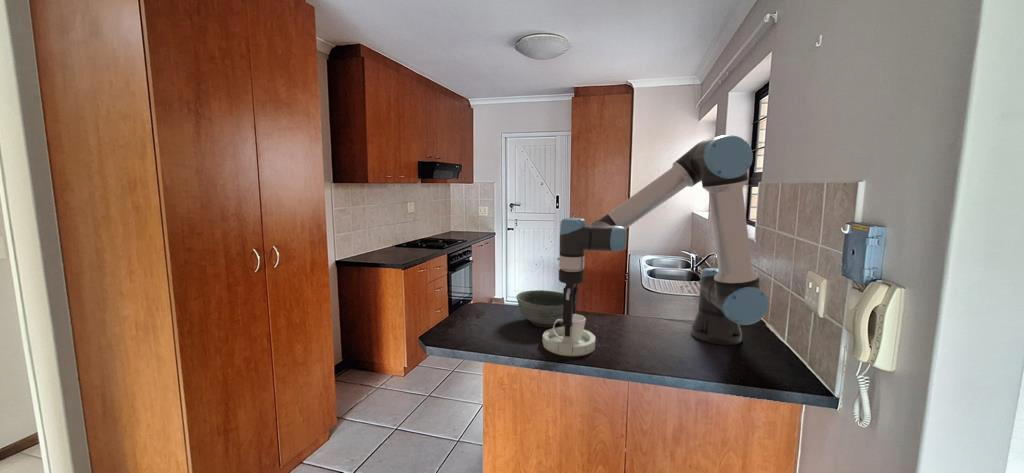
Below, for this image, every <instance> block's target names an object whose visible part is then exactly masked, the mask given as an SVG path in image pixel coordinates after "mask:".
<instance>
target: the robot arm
mask: <svg viewBox="0 0 1024 473" xmlns="http://www.w3.org/2000/svg"><path fill="white" fill-rule="evenodd" d="M753 155H754V153H753V150H752V147H751V146H750V143H748V142H747V141H746V140H745V139H744V138H742V137H740V136H738V135H734V134H733V135H732V134H725V135H724V134H723V135H719V136H715V137H712V138H707V139H704V140H701V141H699V142H698V143H697V144H695V145H694V146H693V147H691V148H690V149H689V150H688V151H686V153H684V154H682V156H680V157H679V158H678V159H677V160H675V161H674V162H673V163H672V166H671V167H670V168H669V169H668V170H666V171H665V172H663V173H662V174H661V175H660V176H658V177H656V179H654V180H653V181H651V182H650V183H649V184H647V185H645V186H644V187H643V188H641V189H640V190H639V191H637V192H636V193H635V194H633V195H632V196H630V197H629V198H628V199H626V200H624V201H623V202H622V203H620V204H619V205H618V206H617V207H615V208H613V209H612V210H611V211H609V212H608V213H606V214H605V215H604V216H602V217H601V218H599V219H597V220H596V219H595V220H594V221H593V222H592V223H591V224H589V225H588V224H587V223H586V219H585V218H581V217H565V218H563V219H562V220H561V221H560V228H559V257H557V261H559V263H558V268H559V269H558V281H559V282H560V283H561V284H565V286H564V287H563V292H562V293H564V294H563V296H564V304H563V322H560V326H562V327H563V344H569V345H572V333H573V325H572V317H573V314H577V312H578V310H577V304H578V303H577V301H578V299H577V298H578V291H579V287H578V285H579V284H582V283H584V277H585V271H584V268H585V258H586V257H585V256H586V255H585V251H602V252H603V251H605V252H622V251H624V250H625V249H626V247H627V240H628V234H627V229H628V228H629V227H630V226H632V225H633V224H635V223H636V222H638V221H639V220H641V219H643V218H644V217H645V216H647V215H648V214H650V213H651V212H652V211H654V210H655V209H657V208H658V207H659V206H661V205H662V204H664V203H665V202H666V201H668V200H670V199H671V198H673V197H674V196H675V195H677V194H678V193H680V192H681V191H682V190H684V189H685V188H688V187H689V188H690V187H691V188H692V187H694V186H695V185H697V184H698V183H700V182H701V186H702V189H704V190H706V191H707V192H708V193H709V194H708V195H709V203H710V210H711V212H710V213H711V220H712V228H713V236H714V243H715V245H714V246H715V251H716V252H715V253H716V260H717V267H713V268H712V267H709V268H703V269H702V271H701V274H700V278H699V280H700V284H699V297H698V298H699V299H698V312H697V313H696V316H695V317H694V320H693V322H692V324H691V327H690V334H691V335H692V337H694V338H696V339H697V340H699V341H703V342H705V343H709V344H714V345H720V346H721V345H722V346H735V345H739V344H740V343H741V342H742V338H743V333H742V329H741V326H742V325H743V326H750V325H753V324H756V323H759V321H761V320H762V319H763V318H764V317H765V316H766V314H767V313H768V310H769V308H770V307H769V306H770V301H769V298H768V296H767V294H766V293H765V292H764V290H762V289H761V282H760V275H759V273H757V272H756V271H754V270H753V268H752V259H751V249H750V242H749V234H748V225H747V215H746V207H745V199H744V191H743V190H744V187H745V185H747V183H748V182H749V178H748V176H749V175H748V170H749V169H750V167H751V166H752V164H753V158H754V156H753Z"/></svg>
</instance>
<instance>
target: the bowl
mask: <svg viewBox="0 0 1024 473" xmlns="http://www.w3.org/2000/svg"><path fill="white" fill-rule="evenodd" d="M563 294H564V293H563V292H559V291H553V290H544V289H543V290H541V289H539V290H526V291H522V292H521V291H520V292H519V293H517V294H516V296H515V297H516V301H517V303H518V308H519V310H520V312H521V314H522V315H523V317H524V318H525V319H527V320H528V321H530V323H531V324H532V325H533V326H537V327H540V328H553V325H554V322H555V321H556V320H557V319H563V304H564V296H563ZM558 323H562V321H557V322H556V323H555V325H554V327H556V326H557V325H558Z"/></svg>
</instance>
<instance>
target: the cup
mask: <svg viewBox="0 0 1024 473" xmlns="http://www.w3.org/2000/svg"><path fill="white" fill-rule="evenodd" d="M586 320H587V319H586V317H585V316H584V315H582V314H579V313H576V314H573V317H572V325H573V333H572V345H576V344H580V341H579V340H581V338H582V335H583V330H585V325H586ZM557 321H561V323H563V319H557V320H556V321H555V322H554V325H555V323H556V322H557ZM554 325H553V327H552V328H553V332H554V334H555V335H556V336H557V337H558V338H559V339H561V340H562V341H563V339H562V338H561V337H560V336H558V335H557V334H556V333H555V331H554V327H555V326H556V325H555V326H554Z"/></svg>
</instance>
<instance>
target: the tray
mask: <svg viewBox="0 0 1024 473" xmlns="http://www.w3.org/2000/svg"><path fill="white" fill-rule="evenodd" d="M554 331H555V333H556V334H557V335H558V336H560V337H561V338H562V339H563V326H554ZM596 337H597V336H595V334H593V333H592V332H591V331H589V330H587V329H584V330H583V335H582V338H581V340H579V341H580V344H576V345H569V344H563V341H562V340H561V339H559V338H558V337H557V336H556V335H555V334H554V332H553V327H550V328H549V329H547V330H545V331H544V332H543V334H542V345H543V348H544V349H545V350H547V351H548V352H550V353H551V354H552V353H553V354H555V355H559V356H562V357H563V356H564V357H581V356H587V355H589V354H591V353H593V352H594V351H595V349H596Z"/></svg>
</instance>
